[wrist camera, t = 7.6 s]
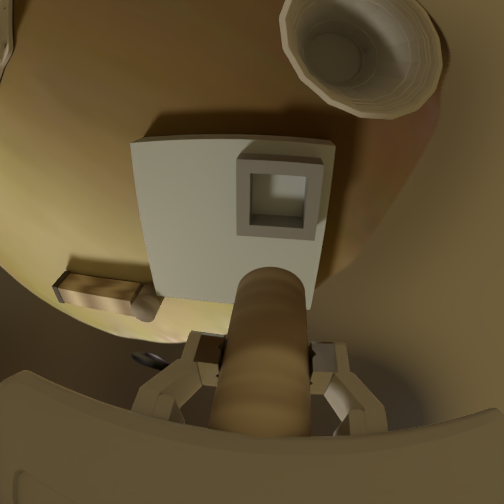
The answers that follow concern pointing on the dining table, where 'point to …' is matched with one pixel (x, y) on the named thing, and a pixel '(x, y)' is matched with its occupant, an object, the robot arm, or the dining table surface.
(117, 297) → the hinged leg
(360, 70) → the plastic cup
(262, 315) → the leg peg
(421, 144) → the dining table surface
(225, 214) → the stool seat
